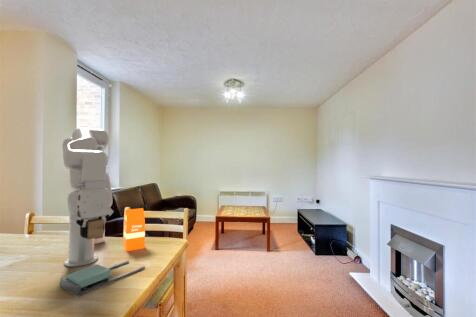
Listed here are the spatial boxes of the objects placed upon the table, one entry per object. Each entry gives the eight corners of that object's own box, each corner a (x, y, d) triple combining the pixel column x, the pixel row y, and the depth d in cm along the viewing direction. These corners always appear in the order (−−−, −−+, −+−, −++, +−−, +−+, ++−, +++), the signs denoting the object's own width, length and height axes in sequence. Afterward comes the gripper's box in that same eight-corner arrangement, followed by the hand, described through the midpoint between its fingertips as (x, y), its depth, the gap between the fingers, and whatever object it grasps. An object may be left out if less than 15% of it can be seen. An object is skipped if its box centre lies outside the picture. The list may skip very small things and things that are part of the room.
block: (81, 236, 89) (82, 219, 89) (96, 233, 93) (96, 217, 93) (88, 239, 86) (89, 222, 86) (103, 235, 90) (103, 219, 90)
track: (60, 286, 87) (60, 278, 87) (127, 262, 109) (127, 255, 109) (76, 296, 80) (76, 287, 80) (144, 268, 102) (144, 261, 102)
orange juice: (144, 248, 127) (145, 209, 128) (126, 251, 122) (126, 210, 123) (141, 244, 134) (141, 207, 134) (123, 247, 129) (124, 208, 129)
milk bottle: (92, 240, 140) (93, 204, 141) (106, 239, 141) (107, 204, 141) (85, 244, 132) (86, 207, 133) (100, 244, 133) (101, 206, 134)
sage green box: (65, 286, 87) (66, 274, 87) (97, 274, 96) (97, 264, 96) (78, 293, 82) (78, 281, 82) (110, 280, 91) (110, 269, 92)
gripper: (72, 188, 80) (71, 244, 80) (122, 184, 94) (120, 231, 94) (62, 186, 84) (60, 239, 84) (111, 182, 98) (109, 228, 99)
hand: (92, 234), depth 89 cm, fingers closed on block, 5 cm apart
